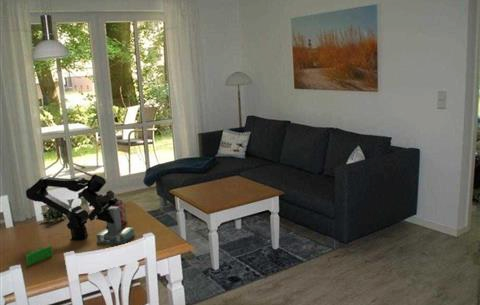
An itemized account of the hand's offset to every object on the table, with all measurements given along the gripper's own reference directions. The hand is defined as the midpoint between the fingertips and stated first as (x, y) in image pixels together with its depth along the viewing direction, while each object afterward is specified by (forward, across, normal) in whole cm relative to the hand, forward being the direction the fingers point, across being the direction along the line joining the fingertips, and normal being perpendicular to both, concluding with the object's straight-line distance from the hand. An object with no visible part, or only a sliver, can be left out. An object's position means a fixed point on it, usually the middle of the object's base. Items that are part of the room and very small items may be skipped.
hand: (116, 221), depth 201 cm
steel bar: (+4, 0, +6) cm, 7 cm away
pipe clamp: (-10, -25, +24) cm, 36 cm away
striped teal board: (+6, 0, +7) cm, 9 cm away
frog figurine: (-30, +22, +45) cm, 58 cm away
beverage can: (-1, +21, +15) cm, 25 cm away
